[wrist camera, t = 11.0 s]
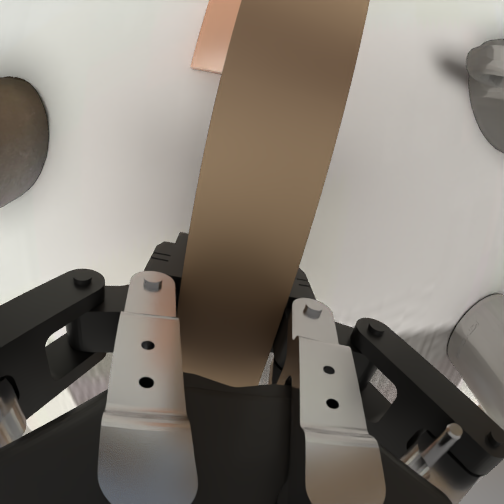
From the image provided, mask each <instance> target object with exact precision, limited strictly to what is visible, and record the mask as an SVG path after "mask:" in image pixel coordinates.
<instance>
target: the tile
mask: <svg viewBox="0 0 504 504" xmlns="http://www.w3.org/2000/svg"><path fill="white" fill-rule="evenodd" d="M241 1H242V0H209V3H208V6H207V10H206V13H205V16H204V20H203V23H202V26H201V30H200V33H199V37H198V41H197V44H196V48H195V52H194V55H193V59H192V63H191V68H192V69H195V70H202V71H207V72H213V73H219V74H222V70H223V66H224V63H225V59H226V55H227V51H228V47H229V43H230V40H231V36H232V32H233V29H234V25H235V21H236V18H237V14H238V11H239V7H240V4H241Z"/></svg>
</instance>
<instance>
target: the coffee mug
mask: <svg viewBox="0 0 504 504" xmlns="http://www.w3.org/2000/svg"><path fill="white" fill-rule="evenodd" d="M466 68H467V70H468V73H469V92H470V100H471V105H472V109H473V113H474V115H475V118H476V121H477V123H478V125H479V128H480V130H481V132H482V133H483V135H484V136H485V138H486V139H487V140H488V142H489V143H490V144H491V145H492V146H494V147H495V148H496V149H497V150H499V151H501V152H503V153H504V39H498V40H490V41H487V42H485V43H483V44H482V45H481V46H479V47H476V48H473V49H471V51H470V52H469V53H468V56H467V61H466Z"/></svg>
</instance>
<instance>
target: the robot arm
mask: <svg viewBox="0 0 504 504" xmlns="http://www.w3.org/2000/svg"><path fill="white" fill-rule="evenodd" d="M188 235H189V234H187V233H182V232H180V233H179V236H178V238H177V241H176V243H170V242H163V243H161V244H159V245H157V246H156V248H155V250H154V252H153V254H152V256H151V258H150V260H149V262H148V264H147V266H146V268H145V270H144V271H143V272H139V273H136V274H135V275H133V276H132V277H131V280H130V284H129V285H125V286H105V279H104V277H103V276H102V275H101V274H100V273H98V272H96V271H94V270H90V269H76V270H72V271H69V272H67V273H65V274H63V275H60V276H58V277H56V278H54V279H52V280H50V281H48V282H46V283H44V284H42V285H40V286H38V287H36V288H34V289H32V290H30V291H28V292H26V293H24V294H22V295H20V296H18V297H16V298H14V299H12V300H10V301H8V302H6V303H4V304H3V305H1V306H0V504H458V503H459V502H460V501H461V500H462V499H463V497H464V496H465V495H466V494H467V492H468V491H469V490H470V489H471V488H472V486H473V485H475V484H476V483H477V482H478V481H479V480H481V479H482V478H483V477H484V476H485V475H486V474H488V473H489V472H490V471H491V470H492V469H493V468H494V467H495V466H497V465H498V464H499V463H500V462H501V461H502V460H503V459H504V295H501V294H495V295H491V296H488V297H486V298H484V299H483V300H481V301H479V302H478V303H477V304H476V305H474V306H473V307H472V308H471V309H470V310H469V311H468V312H467V313H466V314H465V315H464V317H463V318H462V319H461V320H460V322H459V323H458V325H457V326H456V328H455V329H454V331H453V333H452V335H451V337H450V341H449V344H448V350H447V352H448V357H449V359H450V361H451V362H452V364H453V365H454V366H455V368H456V369H457V371H458V372H459V374H460V375H461V377H462V378H463V380H464V381H465V383H466V384H467V386H468V387H469V389H470V390H471V392H472V393H473V395H474V396H475V398H476V399H477V401H478V402H479V404H480V406H481V407H482V409H483V410H484V412H483V411H482V410H481V409H480V408H479V407H478V406H477V405H476V404H475V403H474V402H473V401H471V400H470V399H469V398H468V397H467V396H466V395H465V394H464V393H463V392H461V391H460V390H459V389H458V388H457V387H456V386H455V385H454V384H453V383H451V382H450V381H449V380H448V379H447V378H446V377H445V376H444V375H442V374H441V373H440V372H439V371H438V370H437V369H436V368H435V367H433V366H432V365H431V364H430V363H429V362H428V361H427V360H426V359H424V358H423V357H422V356H421V355H420V354H419V353H418V352H416V351H415V350H414V349H413V348H412V347H411V346H409V345H408V344H407V343H406V342H405V341H404V340H403V339H401V338H400V337H399V336H398V335H397V334H396V333H394V332H393V331H392V330H391V329H390V328H389V327H387V326H386V325H385V324H383V323H381V322H380V321H377V320H374V319H371V318H361V319H359V320H358V321H357V323H356V325H355V327H354V328H352V327H349V326H346V325H343V324H340V323H337V322H335V321H334V316H333V313H332V311H331V309H330V308H329V307H328V306H326V305H325V304H323V303H321V302H319V301H317V300H316V299H315V296H314V294H313V291H312V289H311V287H310V284H309V282H308V279H307V277H306V274H305V273H304V272H303V271H302V270H301V269H300V268H298V271H297V274H296V277H295V280H294V283H293V286H292V289H291V292H290V295H289V298H288V301H287V304H286V307H285V310H284V313H283V316H282V319H281V322H280V325H279V328H278V330H277V333H276V336H275V339H274V342H273V345H272V348H271V350H270V352H273V353H274V357H273V359H272V362H271V365H270V373H269V383H268V385H258V386H247V387H232V386H229V385H226V384H222V383H219V382H216V381H214V380H211V379H208V378H205V377H202V376H199V375H196V374H192V373H186V372H183V369H182V355H181V340H180V322H179V317H177V309H178V302H179V294H180V287H181V280H182V273H183V267H184V260H185V254H186V247H187V241H188ZM64 326H66V331H67V333H66V334H64V335H63V336H61V337H60V338H58V339H57V340H55V341H54V342H52V343H51V344H49V345H48V346H46V347H45V345H46V342H47V340H48V338H49V337H50V336H51V335H52V334H53V333H54V332H56V331H58V330H59V329H61V328H62V327H64ZM107 352H113V358H112V365H111V371H110V378H109V386H108V389H107V390H106V391H104V392H102V393H100V394H99V395H97V396H95V397H93V398H92V399H90V400H88V401H86V402H85V403H83V404H81V405H79V406H77V407H76V408H74V409H72V410H70V411H68V412H67V413H65V414H63V415H61V416H59V417H58V418H56V419H54V420H52V421H50V422H48V423H47V424H45V425H43V426H41V427H39V428H37V429H35V430H34V431H32V432H30V433H28V434H26V435H24V436H22V435H23V433H24V432H25V429H26V420H27V419H28V418H29V417H30V416H32V415H33V414H34V413H35V412H37V411H38V410H39V409H40V408H42V407H43V406H44V405H45V404H47V403H48V402H49V401H50V400H52V399H53V398H54V397H55V396H57V395H58V394H59V393H60V392H62V391H63V390H64V389H66V388H67V387H68V386H69V385H71V384H72V383H73V382H74V381H76V380H77V379H78V378H79V377H81V376H82V375H83V374H84V373H86V372H87V371H88V370H90V369H91V368H92V367H93V366H95V365H96V364H97V363H98V362H100V361H101V360H102V359H103V358H104V357H105V356H106V353H107ZM377 368H378V369H379V370H380V371H381V372H382V373H383V374H384V375H385V376H386V377H387V378H388V379H389V380H390V381H391V382H392V383H393V384H394V385H395V386H396V389H397V397H396V399H395V401H394V402H393V403H392V404H391V403H390V402H389V401H388V400H387V399H386V398H385V397H384V396H383V395H382V394H381V393H380V392H379V391H378V390H377V389H376V388H375V387H374V386H373V385H372V384H371V383H370V382H369V381H370V380H371V378H372V376H373V375H374V373H375V371H376V370H377Z"/></svg>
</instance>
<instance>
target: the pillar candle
mask: <svg viewBox="0 0 504 504" xmlns="http://www.w3.org/2000/svg"><path fill="white" fill-rule="evenodd" d="M47 149H48V122H47V117H46V114H45V109H44V106H43V104H42V102H41V100H40V97H39V95H38V93H37V92H36V90H35V89H34V88H33V87H32V86H31V84H30V83H28V82H26V81H25V80H23V79H21V78H17V77H14V78H13V77H11V76H9V77H3V78H0V208H1V207H3V206H5V205H6V204H8V203H9V202H11V201H13V200H15V199H16V198H18V197H20V196H21V195H22V194H24V193H25V192H26V191H27V190H28V189H29V188H30V187H31V186H32V185H33V184H34V182H35V181H36V179H37V178H38V176H39V174H40V173H41V170H42V167H43V164H44V161H45V158H46V154H47Z"/></svg>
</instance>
